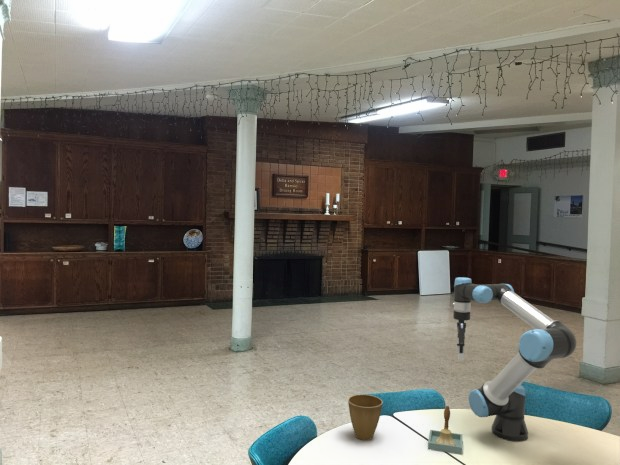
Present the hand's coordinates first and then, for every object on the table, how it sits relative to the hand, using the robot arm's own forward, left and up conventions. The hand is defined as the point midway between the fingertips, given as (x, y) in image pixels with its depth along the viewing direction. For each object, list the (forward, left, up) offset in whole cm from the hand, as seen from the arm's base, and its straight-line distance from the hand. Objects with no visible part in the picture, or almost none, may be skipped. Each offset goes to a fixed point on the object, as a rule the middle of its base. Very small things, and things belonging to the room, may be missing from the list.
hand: (460, 356), depth 239 cm
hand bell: (+5, +26, -31) cm, 41 cm away
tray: (+5, +26, -32) cm, 41 cm away
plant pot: (+39, +30, -32) cm, 59 cm away
